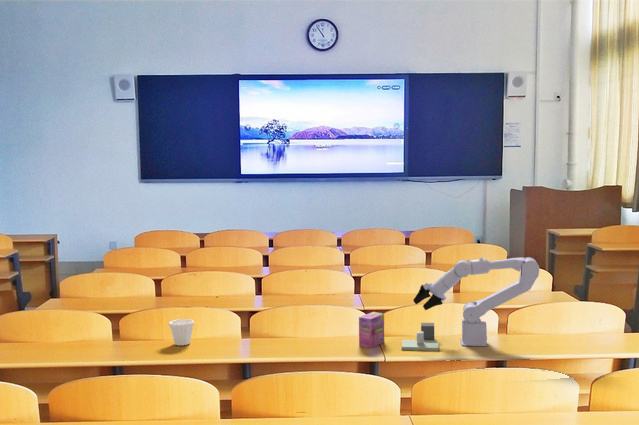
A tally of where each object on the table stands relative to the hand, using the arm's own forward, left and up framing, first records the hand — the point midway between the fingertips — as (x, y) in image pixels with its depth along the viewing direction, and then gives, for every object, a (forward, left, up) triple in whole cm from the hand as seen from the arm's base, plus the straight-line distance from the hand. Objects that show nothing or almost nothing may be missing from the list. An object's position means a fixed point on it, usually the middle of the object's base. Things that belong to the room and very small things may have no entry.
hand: (419, 305), depth 251 cm
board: (0, +8, -15) cm, 17 cm away
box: (+19, +6, -15) cm, 25 cm away
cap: (-3, -1, -15) cm, 15 cm away
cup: (+96, +12, -15) cm, 98 cm away
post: (0, +8, -13) cm, 16 cm away
